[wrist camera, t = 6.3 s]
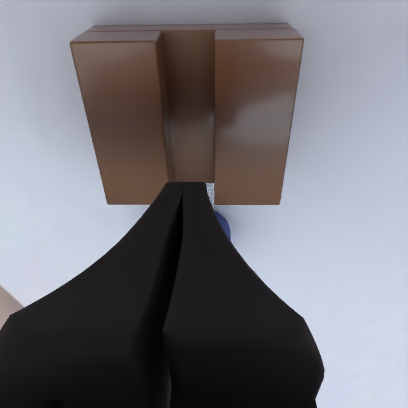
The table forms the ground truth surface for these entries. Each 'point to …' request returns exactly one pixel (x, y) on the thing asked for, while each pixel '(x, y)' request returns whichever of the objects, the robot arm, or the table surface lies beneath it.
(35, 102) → the table surface
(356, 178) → the table surface
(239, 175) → the block
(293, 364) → the robot arm
